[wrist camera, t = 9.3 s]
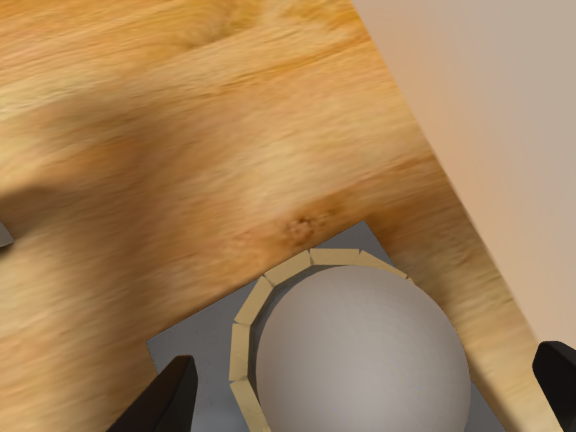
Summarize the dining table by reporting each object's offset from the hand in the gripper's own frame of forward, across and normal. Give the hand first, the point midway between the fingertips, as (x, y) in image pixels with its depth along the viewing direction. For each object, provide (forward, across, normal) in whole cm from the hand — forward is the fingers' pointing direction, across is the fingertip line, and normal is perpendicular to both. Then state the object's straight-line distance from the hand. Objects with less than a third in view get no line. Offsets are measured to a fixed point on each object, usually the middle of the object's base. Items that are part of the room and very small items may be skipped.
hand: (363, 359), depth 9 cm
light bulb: (+6, 0, +6) cm, 8 cm away
